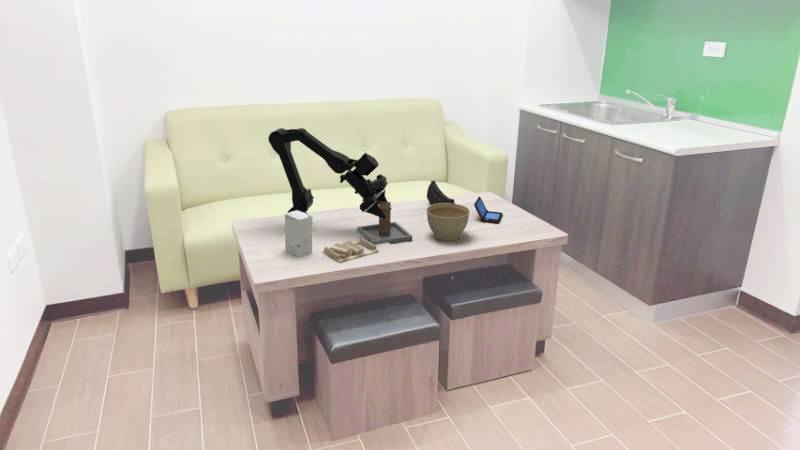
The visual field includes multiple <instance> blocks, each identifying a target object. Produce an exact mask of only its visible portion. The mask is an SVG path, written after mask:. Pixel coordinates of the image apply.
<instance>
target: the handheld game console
mask: <svg viewBox="0 0 800 450" xmlns="http://www.w3.org/2000/svg"><path fill="white" fill-rule="evenodd" d="M473 206H474V208H475V211H476V212H477V214H478V216H479V218H480V223H489V224H494V225H495V224H496V225H498V224H500V222H501V219H503V212H499V211H491V210H490V211H489V210H488V209H487V208H486V206H485V203H484V201H483V200H482V197H481V196H478V198H477V199H476V201H475V202H474V204H473Z"/></svg>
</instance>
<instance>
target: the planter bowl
mask: <svg viewBox="0 0 800 450" xmlns="http://www.w3.org/2000/svg"><path fill="white" fill-rule="evenodd" d="M470 212H471V211H470V209H469V208H468V207H467V206H464V205H462V204H457V203H455V204H452V203H439V204H434V205H431V204H430V205H428V206H427V208H426V217H427V223H428V226H429V228H430V230H431V231H432V233H433V235H434V238H436V240H437V239H438V240H439V241H444V242H453V241H457V240H459V238H460V235H462V233H463V232H464V230H465V229H466V227H467V225H468V222H469V219H470V217H469V216H470Z"/></svg>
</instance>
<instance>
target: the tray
mask: <svg viewBox="0 0 800 450" xmlns="http://www.w3.org/2000/svg"><path fill="white" fill-rule="evenodd" d="M356 230H357V231H358V232H359V233H360V234H361V235H362V236H363V237H364V239H365V240H367V241H369V242H371V243H372V244H374V245H380V244H386V243H387V244H389V245H393V244H399V243H400V244H401V243H406V242H407V243H408V242H412V241H413V235H412V234H411V233H410V232H408V231H407V230H406V229H405V228H404V227H402V225H400V224H399V223H398V222H397V221H394V222H393V221H390V236H379V223H375V224H370V225H369V224H368V225H360V226H357V229H356ZM368 233H369V234H371V235H372V236H375V237H376V238H378V239H375V240H374V239H373V238H372V236H370V235H369V234H368Z"/></svg>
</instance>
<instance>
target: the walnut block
mask: <svg viewBox="0 0 800 450" xmlns="http://www.w3.org/2000/svg"><path fill="white" fill-rule="evenodd" d="M391 203H392V202H391V201H388V202H383V201H380V202H379V205H378V206H379V207H380V208H381V210H382V211H383V212H384V214H385V215H386V218H385V219H383V218H380V217H378V224H379V236H390V222H391V214H392V213H391V211H392V207H391Z"/></svg>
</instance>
